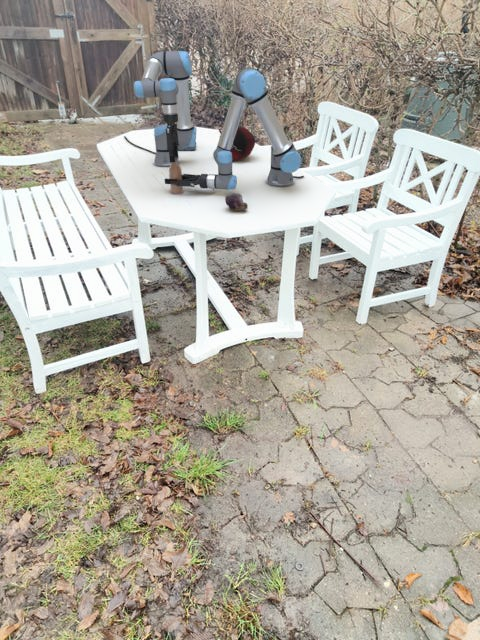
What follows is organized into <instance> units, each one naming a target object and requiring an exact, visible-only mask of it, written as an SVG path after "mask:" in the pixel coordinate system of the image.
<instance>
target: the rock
mask: <svg viewBox="0 0 480 640" xmlns="http://www.w3.org/2000/svg"><path fill="white" fill-rule="evenodd" d="M224 201H225V204H226V206H227V207H228V209H229V210H231V211H235V212H236V211H245V210H247V209H249V208H248V207H249V206H248V203H247V202H244V200H243V195H242V194H241V193H239V192H236V193H235V192H233V193H231V194H228V195H226V196H225V199H224Z"/></svg>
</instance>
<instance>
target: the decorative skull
mask: <svg viewBox="0 0 480 640" xmlns="http://www.w3.org/2000/svg"><path fill="white" fill-rule="evenodd" d="M221 132H222V129H221V128H218V133H219V134H220V135H221ZM255 145H256V137H255V135H254V134H253V133H252V132H251V131H250V130H249V129H247V128H246V127H244V126H241V125H238V129H237V132H236V135H235V138H234V141H233V144H232V147H231V150H230V152H231V153H232V161H242V160H245V159H247V158H248V157H249V156H250V155H251V154H252V152H253V150H254V148H255Z"/></svg>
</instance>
